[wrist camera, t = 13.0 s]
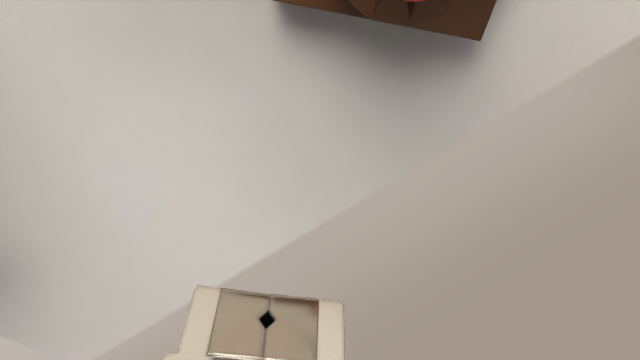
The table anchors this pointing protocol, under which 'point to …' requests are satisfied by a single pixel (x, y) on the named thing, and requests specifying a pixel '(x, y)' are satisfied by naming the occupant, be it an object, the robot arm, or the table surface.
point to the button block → (416, 13)
